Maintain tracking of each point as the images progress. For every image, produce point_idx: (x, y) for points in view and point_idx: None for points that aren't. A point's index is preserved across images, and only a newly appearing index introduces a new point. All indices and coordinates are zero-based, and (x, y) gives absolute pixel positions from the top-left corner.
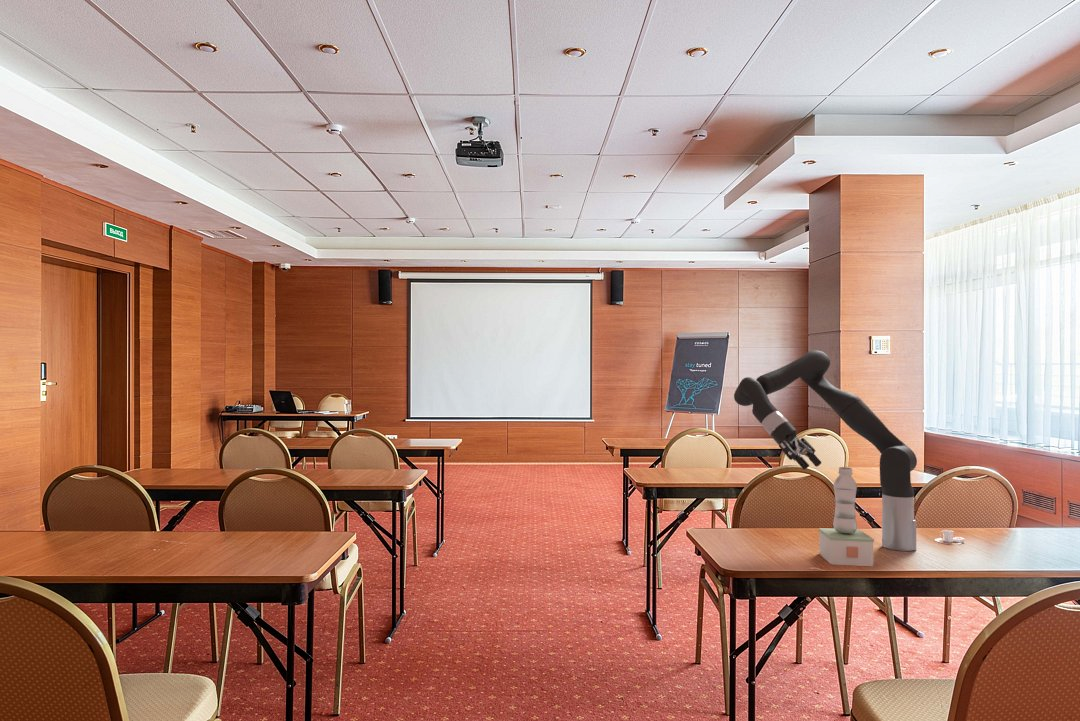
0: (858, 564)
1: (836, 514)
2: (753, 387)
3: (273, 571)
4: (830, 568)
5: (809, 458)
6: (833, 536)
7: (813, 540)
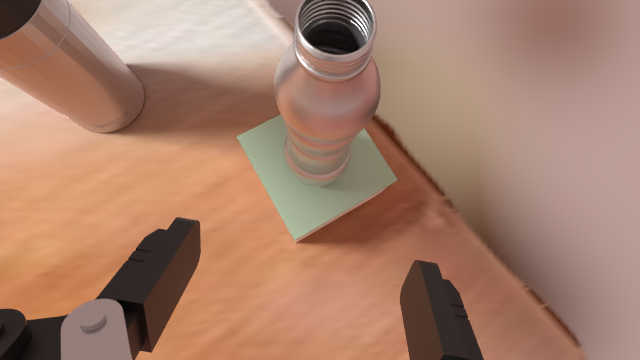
0: None
1: (342, 162)
2: None
3: None
4: (411, 187)
5: (154, 339)
6: (379, 176)
7: None
